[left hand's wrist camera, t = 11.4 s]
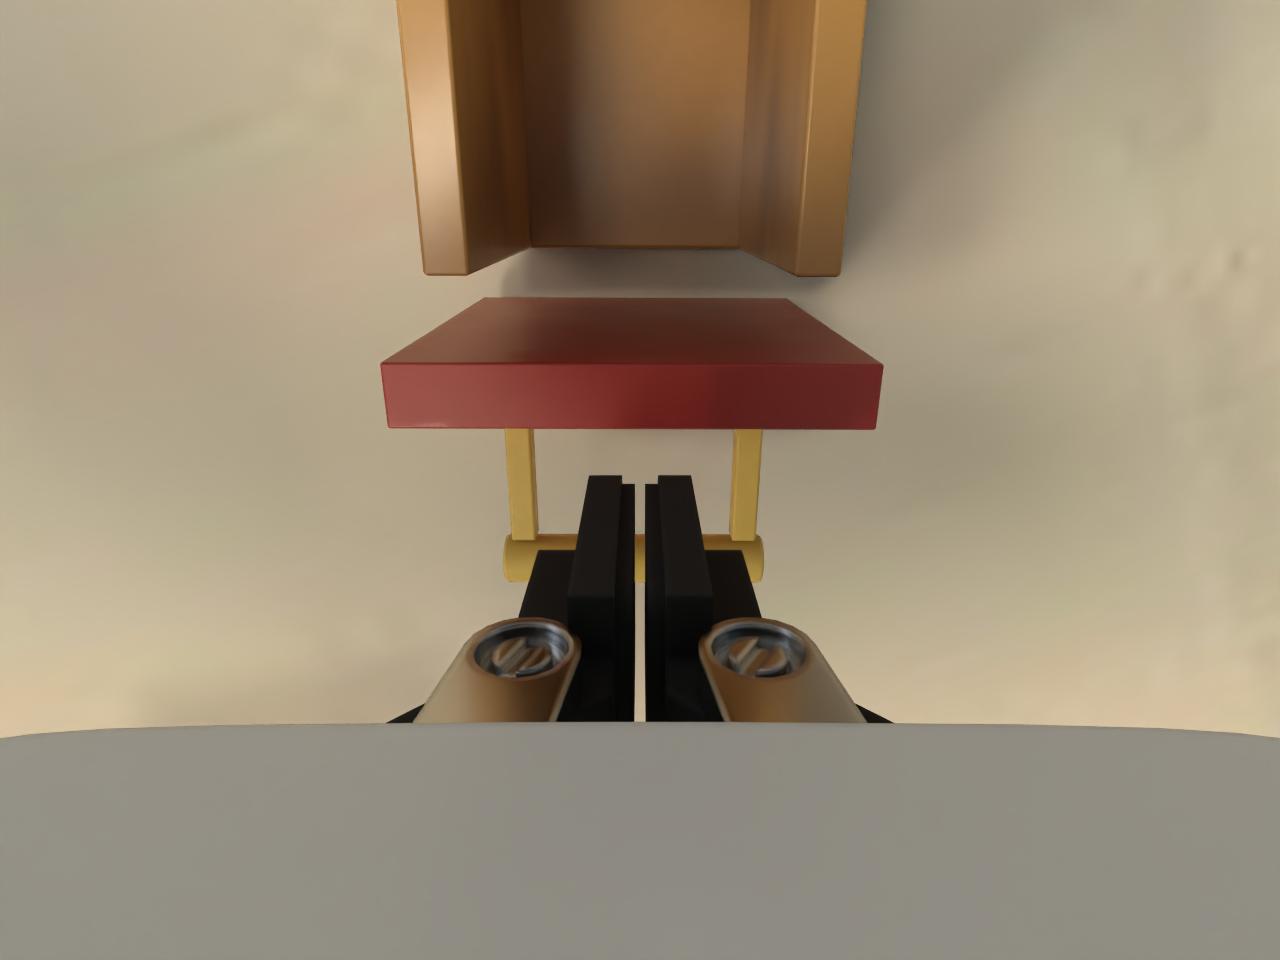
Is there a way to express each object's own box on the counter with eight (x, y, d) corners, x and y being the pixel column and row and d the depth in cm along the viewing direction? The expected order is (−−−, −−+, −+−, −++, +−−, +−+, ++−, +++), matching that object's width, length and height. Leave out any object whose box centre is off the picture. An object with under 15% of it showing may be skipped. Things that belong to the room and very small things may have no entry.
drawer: (771, 502, 23) (846, 673, 15) (498, 501, 23) (418, 673, 15) (859, -684, 14) (1174, -1953, 6) (412, -686, 14) (85, -1959, 6)
